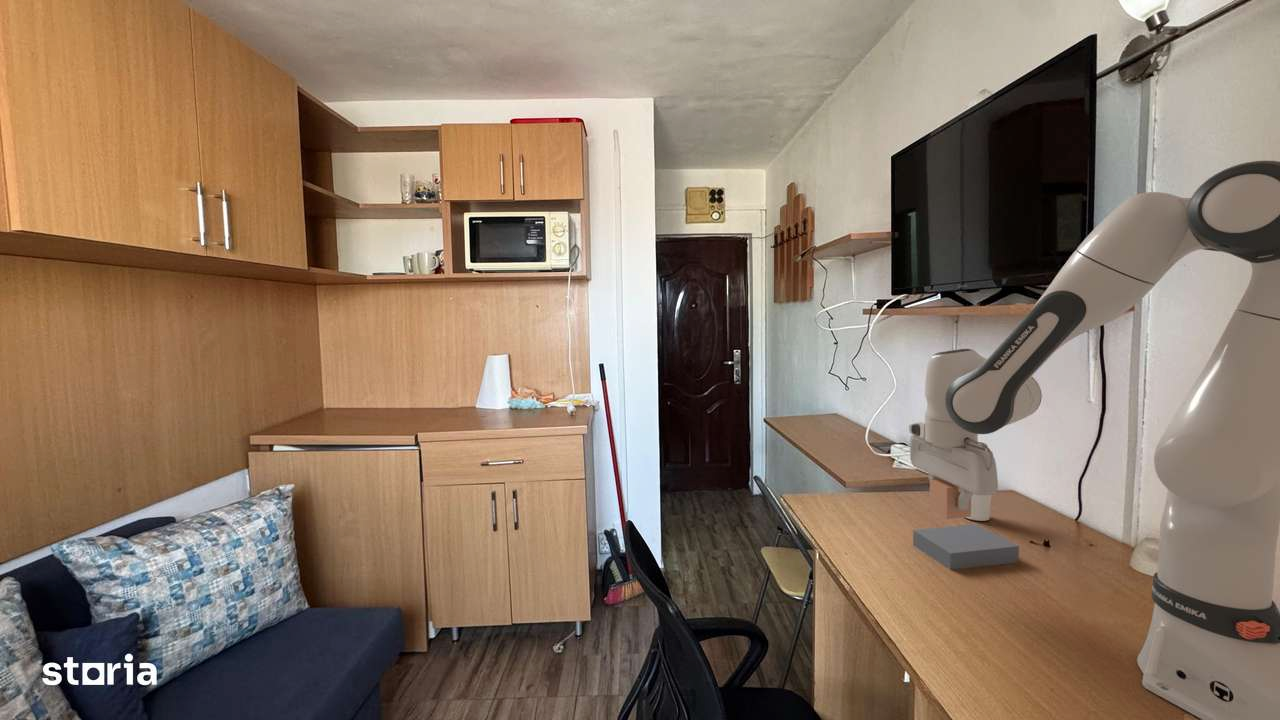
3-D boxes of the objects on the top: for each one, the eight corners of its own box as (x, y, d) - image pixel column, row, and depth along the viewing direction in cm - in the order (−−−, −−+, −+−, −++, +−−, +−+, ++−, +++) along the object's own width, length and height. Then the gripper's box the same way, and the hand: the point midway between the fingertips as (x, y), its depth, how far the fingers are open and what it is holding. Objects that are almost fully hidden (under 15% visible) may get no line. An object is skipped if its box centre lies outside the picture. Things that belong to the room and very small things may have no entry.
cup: (985, 512, 140) (986, 459, 139) (1000, 524, 132) (1001, 468, 131) (951, 511, 142) (952, 458, 140) (964, 523, 134) (966, 467, 133)
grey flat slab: (1018, 564, 113) (1018, 546, 113) (950, 571, 111) (950, 553, 111) (975, 540, 125) (975, 523, 125) (912, 546, 123) (913, 530, 123)
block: (970, 516, 102) (971, 486, 101) (946, 518, 101) (946, 488, 101) (952, 507, 107) (953, 478, 106) (929, 509, 106) (929, 480, 106)
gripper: (1008, 444, 93) (1007, 521, 94) (931, 421, 113) (931, 485, 114) (975, 446, 92) (974, 524, 93) (903, 423, 112) (903, 487, 113)
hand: (949, 502), depth 104 cm, fingers closed on block, 5 cm apart
